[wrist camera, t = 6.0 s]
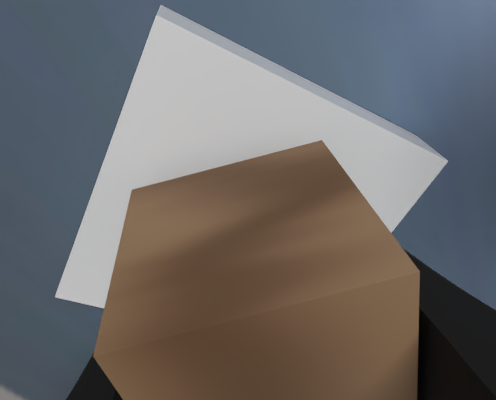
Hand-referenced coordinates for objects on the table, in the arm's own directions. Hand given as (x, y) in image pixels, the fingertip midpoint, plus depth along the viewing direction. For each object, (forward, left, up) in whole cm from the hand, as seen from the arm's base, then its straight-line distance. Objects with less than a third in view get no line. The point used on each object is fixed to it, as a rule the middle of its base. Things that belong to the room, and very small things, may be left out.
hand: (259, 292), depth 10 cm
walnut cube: (0, 0, -2) cm, 2 cm away
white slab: (0, 0, -5) cm, 5 cm away
